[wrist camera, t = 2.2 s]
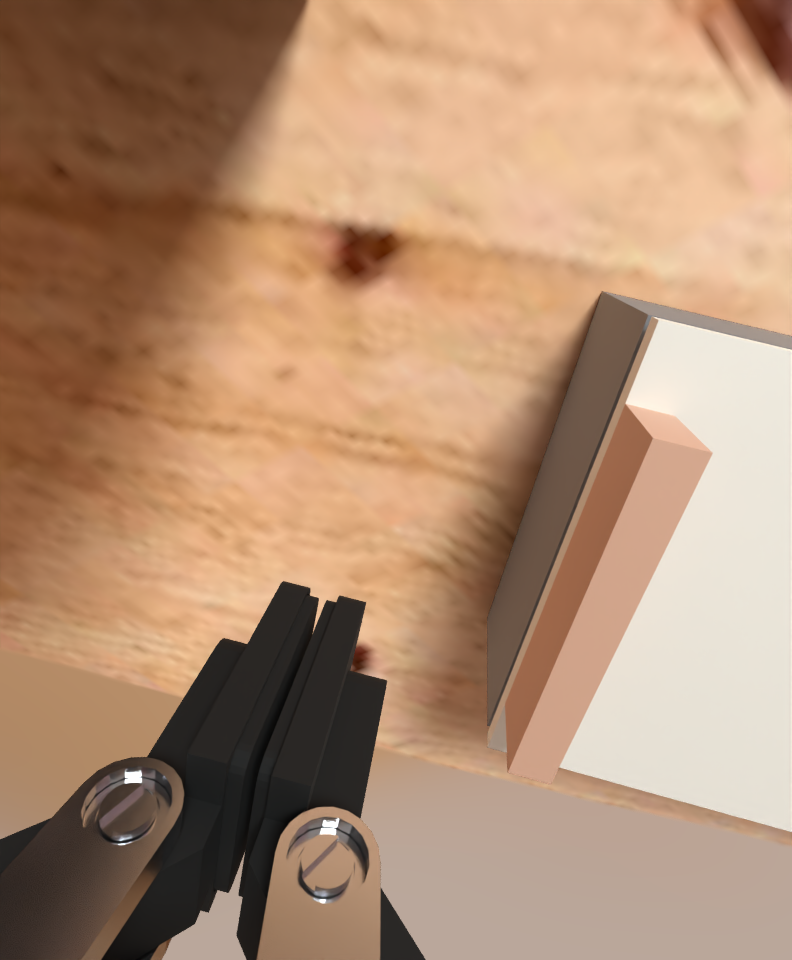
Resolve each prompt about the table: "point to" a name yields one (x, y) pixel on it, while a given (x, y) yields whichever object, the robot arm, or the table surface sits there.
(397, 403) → the table surface
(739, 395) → the lid
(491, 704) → the box
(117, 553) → the table surface
